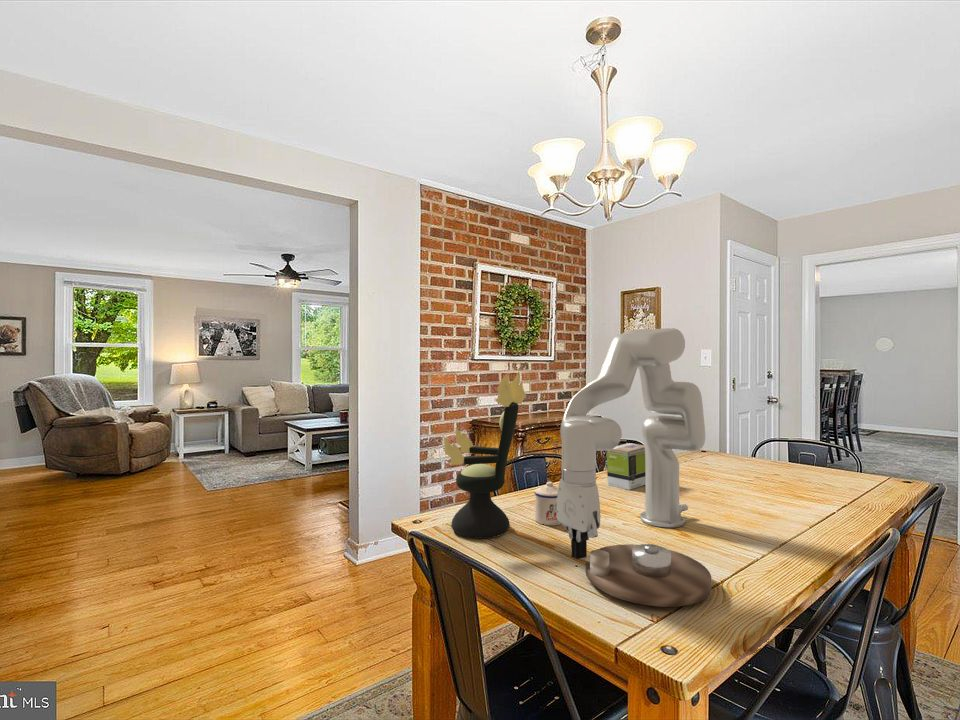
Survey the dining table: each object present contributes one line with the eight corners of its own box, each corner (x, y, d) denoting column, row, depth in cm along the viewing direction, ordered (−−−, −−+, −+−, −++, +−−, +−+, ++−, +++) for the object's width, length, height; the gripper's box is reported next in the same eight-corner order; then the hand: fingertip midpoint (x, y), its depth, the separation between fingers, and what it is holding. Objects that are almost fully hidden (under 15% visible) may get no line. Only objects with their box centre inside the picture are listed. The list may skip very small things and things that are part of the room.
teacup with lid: (547, 528, 141) (547, 488, 141) (528, 519, 149) (528, 481, 149) (578, 520, 147) (578, 482, 147) (558, 512, 155) (558, 475, 155)
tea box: (629, 478, 197) (628, 442, 197) (651, 483, 189) (651, 445, 189) (606, 485, 187) (606, 446, 187) (629, 490, 180) (629, 450, 179)
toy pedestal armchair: (454, 517, 151) (453, 371, 151) (526, 519, 149) (526, 371, 148) (443, 540, 132) (443, 373, 132) (526, 543, 130) (525, 373, 129)
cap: (647, 558, 112) (647, 537, 112) (678, 571, 105) (678, 548, 105) (624, 567, 107) (624, 544, 107) (655, 581, 101) (655, 557, 101)
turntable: (664, 548, 123) (664, 524, 123) (740, 598, 97) (740, 568, 97) (567, 557, 117) (567, 532, 117) (621, 613, 92) (620, 581, 92)
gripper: (544, 471, 115) (544, 549, 115) (590, 485, 102) (590, 573, 102) (569, 467, 119) (569, 542, 119) (615, 480, 106) (615, 565, 106)
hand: (578, 556), depth 110 cm, fingers closed
